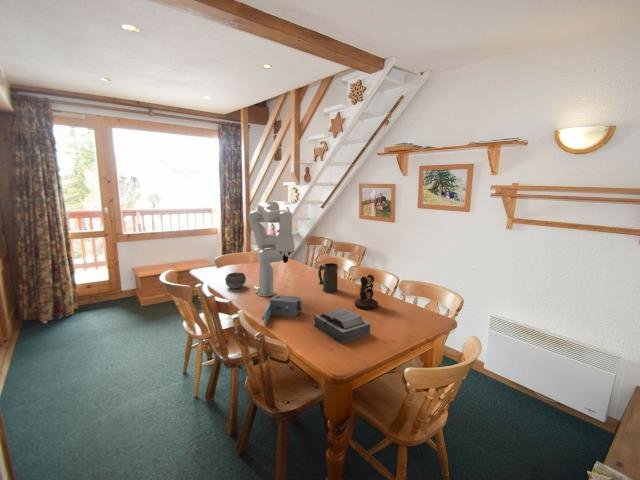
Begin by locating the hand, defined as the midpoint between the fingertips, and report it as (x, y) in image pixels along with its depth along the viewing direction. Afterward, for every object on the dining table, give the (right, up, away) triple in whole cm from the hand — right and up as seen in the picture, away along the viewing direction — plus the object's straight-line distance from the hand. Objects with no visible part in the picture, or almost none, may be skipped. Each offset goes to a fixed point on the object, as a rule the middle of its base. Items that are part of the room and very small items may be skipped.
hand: (285, 262), depth 189 cm
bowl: (-41, -22, +41) cm, 62 cm away
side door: (-9, -31, -12) cm, 35 cm away
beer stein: (+26, -23, +40) cm, 53 cm away
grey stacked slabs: (+32, -35, -23) cm, 53 cm away
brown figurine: (+50, -29, +12) cm, 59 cm away
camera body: (+1, -30, -2) cm, 30 cm away
